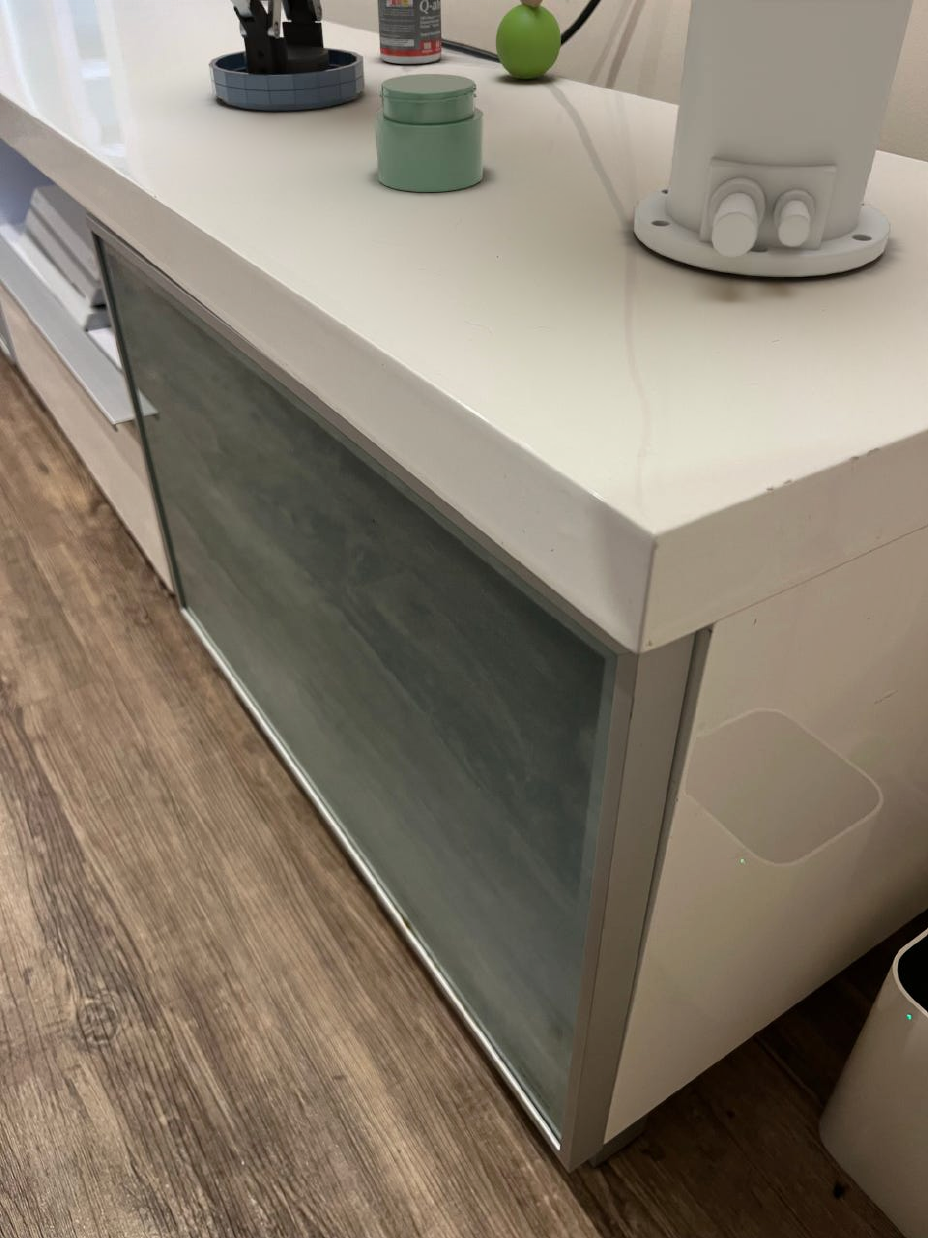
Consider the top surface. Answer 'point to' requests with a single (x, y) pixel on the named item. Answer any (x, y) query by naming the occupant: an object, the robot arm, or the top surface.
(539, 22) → the green apple
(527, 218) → the top surface
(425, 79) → the jar
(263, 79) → the dish
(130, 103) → the top surface
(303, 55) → the lid
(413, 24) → the pill bottle
